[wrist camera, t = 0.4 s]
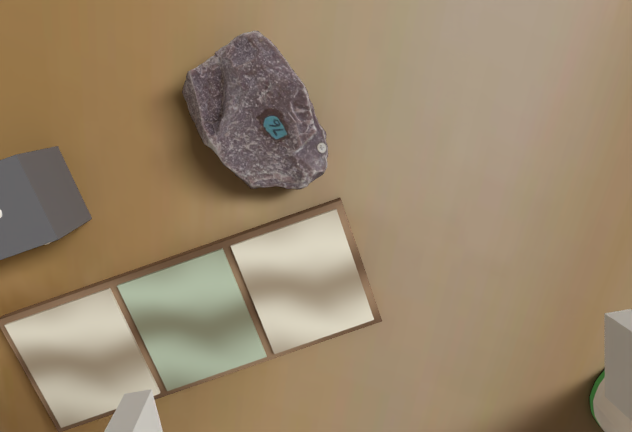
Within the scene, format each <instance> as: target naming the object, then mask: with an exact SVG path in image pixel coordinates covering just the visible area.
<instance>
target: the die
mask: <svg viewBox="0 0 632 432" xmlns="http://www.w3.org/2000/svg"><path fill="white" fill-rule="evenodd" d="M91 219H92V218H91V215H90V213H89V211H88V209H87V207H86V205H85V203H84V201H83V199H82V196H81V194H80V192H79V190H78V188H77V186H76V184H75V182H74V180H73V178H72V175H71V173H70V171H69V169H68V167H67V165H66V163H65V161H64V159H63V156H62V154H61V152H60V150H59V148H58V146H56V147H51V148H47V149H42V150H37V151H32V152H27V153H22V154H17V155H14V156H11V157H8V158H5V159H3V160H0V260H2V259H4V258H7V257H10V256H13V255H16V254H19V253H21V252H24V251H27V250H30V249H33V248H36V247H38V246H41V245H46V244H49V243H51V242H53V241H56V240H58V239H60V238H62V237H63V236H65V235H66V234H68V233H70V232H71V231H73V230H74V229H76V228H78V227H79V226H81V225H83V224H84V223H86V222H87V221H89V220H91Z"/></svg>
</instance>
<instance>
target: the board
mask: <svg viewBox="0 0 632 432" xmlns="http://www.w3.org/2000/svg"><path fill="white" fill-rule="evenodd" d="M381 321H382V319H381V316H380V313H379V310H378V308H377V305H376V302H375V299H374V296H373V293H372V290H371V287H370V284H369V281H368V278H367V275H366V272H365V269H364V266H363V263H362V260H361V257H360V254H359V251H358V248H357V245H356V242H355V239H354V236H353V233H352V230H351V227H350V224H349V221H348V219H347V216H346V213H345V210H344V207H343V204H342V201H341V199H340V198H338V199H335V200H332V201H329V202H326V203H323V204H320V205H317V206H315V207H312V208H309V209H306V210H303V211H300V212H297V213H295V214H292V215H289V216H286V217H283V218H280V219H277V220H275V221H272V222H269V223H266V224H263V225H260V226H257V227H255V228H252V229H249V230H246V231H243V232H240V233H237V234H235V235H232V236H229V237H226V238H223V239H220V240H217V241H215V242H212V243H209V244H206V245H203V246H200V247H197V248H195V249H192V250H189V251H186V252H183V253H180V254H177V255H175V256H172V257H169V258H166V259H163V260H160V261H157V262H154V263H152V264H149V265H146V266H143V267H140V268H137V269H134V270H132V271H129V272H126V273H123V274H120V275H117V276H114V277H112V278H109V279H106V280H103V281H100V282H97V283H94V284H92V285H89V286H86V287H83V288H80V289H77V290H74V291H72V292H69V293H66V294H63V295H60V296H57V297H54V298H52V299H49V300H46V301H43V302H40V303H37V304H34V305H32V306H29V307H26V308H23V309H20V310H17V311H14V312H12V313H9V314H6V315H3V316H2V317H1V318H0V328H1V330H2V332H3V334H4V335H5V337H6V339H7V341H8V342H9V344H10V346H11V348H12V350H13V351H14V353H15V355H16V357H17V359H18V360H19V362H20V364H21V366H22V368H23V369H24V371H25V373H26V375H27V377H28V378H29V380H30V382H31V384H32V385H33V387H34V389H35V391H36V393H37V394H38V396H39V398H40V400H41V402H42V403H43V405H44V407H45V409H46V411H47V412H48V414H49V416H50V418H51V419H52V421H53V423H54V425H55V427H56V428H57V430H58V432H62V431H65V430H68V429H71V428H74V427H77V426H79V425H82V424H85V423H88V422H91V421H94V420H97V419H100V418H103V417H106V416H108V415H111V414H114V412H115V411H116V409H117V407H118V405H119V403H120V401H121V399H122V398H123V396H124V394H126V393H132V392H138V391H144V390H150V389H152V392H153V396H154V400H155V399H158V398H161V397H164V396H166V395H169V394H172V393H175V392H178V391H181V390H184V389H187V388H190V387H192V386H195V385H198V384H201V383H204V382H207V381H210V380H213V379H216V378H219V377H221V376H224V375H227V374H230V373H233V372H236V371H239V370H242V369H245V368H248V367H250V366H253V365H256V364H259V363H262V362H265V361H268V360H271V359H274V358H277V357H279V356H282V355H285V354H288V353H291V352H294V351H297V350H300V349H303V348H306V347H308V346H311V345H314V344H317V343H320V342H323V341H326V340H329V339H332V338H334V337H337V336H340V335H343V334H346V333H349V332H352V331H355V330H358V329H361V328H363V327H366V326H369V325H372V324H375V323H378V322H381Z"/></svg>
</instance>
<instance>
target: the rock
mask: <svg viewBox="0 0 632 432" xmlns="http://www.w3.org/2000/svg"><path fill="white" fill-rule="evenodd" d="M182 93H183V96H184V98H185V100H186V102H187V105H188V110H189V113H190V116H191V118H192V120H193V121H194V122H195V126H196V128H197V130H198V133H199V134H200V136H201V138H202V141H203V143H204V144H205V145H206V146H208V147H210V148H211V149H212V150H213V151H214V152H215V153H216V154H217V156H218V157H219V158H220V161H221V162H222V164H223V165H225V166H226V167H228V168H229V169H230V170H231V171H232V172H234V173H235V175H236V176H238V177H239V178H240V179H242V180H243V181H244V182H245V183H246V184H247V185H248V186H249V187H250V188H254V189H255V188H259V187H273V186H278V187H284V188H286V189H302V188H304V187H307V186H308V185H309V183H311V182H312V181H313V180H315V179H316V178H318V177H320V176H321V175H323V174H324V172H325V170H326V168H327V157H328V146H327V143H326V132H325V130H324V129H323V128H322V127H321V126H320V124H319V123H318V120H317V117H316V116H315V112H314V107H313V104H312V103H311V101H310V99H309V95H308V92H307V89H306V87H305V85H304V84H303V82H302V81H301V80H300V78H299V77H298V76H297V75H296V73H295V72H294V71H293V69H292V68H291V67H290V65H289V63H288V62H287V61H286V59H285V58H284V57H283V55H282V54H281V53H280V51H279V50H278V49H277V47H276V46H275V45H274V44H273V43H272V42H271V41H270V40H269V39H268V38H266V37H264V36H263V35H262V34H261V33H260V32H259V31H252V32H247V33H243V34H241V35H239V36H237V37H236V38H234V39H233V40H232V41H231V42H230V43H229V44H228V45H225V46H224V47H222V48H220V49H219V50H218V51H217V52H215V55H214V56H212V57H210V58H209V59H208V60H206V61H205V62H204V63H202V64H201V65H199V66H198V67H197V68H195V69H192V70H190V71H189V72H188V73H187V76H186V81H185V83H184V87H183V91H182Z"/></svg>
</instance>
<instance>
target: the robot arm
mask: <svg viewBox="0 0 632 432" xmlns="http://www.w3.org/2000/svg"><path fill="white" fill-rule="evenodd" d="M605 397H606V398H607V399H608V400H609V401H610V402H611V403H612V404H613V405H615V406H616V407H617V408H618V409H619V410H620V411H621V412H622V413H623V414H624V415H625V416H626V417H628V418H629V419H630V420H631V421H632V310H631V309H628V310H622V311H616V312H610V313H605ZM104 432H163V431H162V427H161V423H160V419H159V415H158V411H157V408H156V404H155V400H154V396H153V392H152V389H150V390H144V391H138V392H132V393H126V394H124V396H123V398H122V399H121V401H120V403H119V405H118V407H117V409H116V411H115V412H114V414H113V416H112V418H111V420H110V422H109V424H108V426H107V427H106V429H105V431H104Z"/></svg>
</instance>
